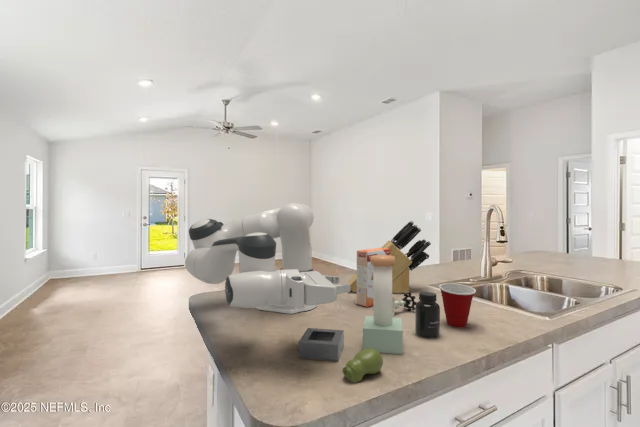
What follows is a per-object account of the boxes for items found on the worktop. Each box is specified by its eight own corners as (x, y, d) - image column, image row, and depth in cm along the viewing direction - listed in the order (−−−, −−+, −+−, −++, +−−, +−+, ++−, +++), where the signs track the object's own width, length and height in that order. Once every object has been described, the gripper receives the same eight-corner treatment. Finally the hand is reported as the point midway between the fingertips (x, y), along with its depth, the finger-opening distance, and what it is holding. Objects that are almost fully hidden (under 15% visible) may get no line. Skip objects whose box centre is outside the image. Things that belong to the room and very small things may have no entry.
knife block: (432, 294, 144) (431, 221, 143) (348, 293, 147) (347, 221, 146) (425, 288, 155) (425, 220, 154) (348, 287, 158) (347, 220, 157)
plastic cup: (457, 333, 100) (457, 292, 100) (431, 321, 110) (431, 285, 110) (484, 327, 104) (484, 288, 104) (457, 317, 114) (457, 281, 114)
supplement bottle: (436, 340, 95) (436, 297, 95) (412, 335, 98) (412, 294, 98) (442, 332, 101) (442, 292, 100) (419, 328, 104) (419, 289, 104)
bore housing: (298, 358, 85) (298, 342, 85) (308, 342, 95) (307, 327, 94) (338, 361, 83) (338, 345, 83) (343, 344, 92) (343, 330, 92)
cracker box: (367, 308, 125) (367, 251, 125) (355, 304, 130) (355, 250, 130) (391, 300, 135) (390, 248, 134) (379, 297, 139) (378, 246, 139)
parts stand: (363, 351, 88) (363, 328, 88) (366, 336, 98) (365, 315, 98) (402, 354, 86) (402, 330, 86) (401, 339, 96) (401, 317, 96)
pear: (386, 349, 76) (351, 369, 71) (389, 371, 77) (355, 392, 71) (369, 341, 81) (336, 358, 75) (372, 362, 81) (339, 381, 76)
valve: (390, 318, 114) (417, 313, 119) (390, 299, 114) (417, 294, 119) (378, 313, 119) (404, 308, 125) (378, 294, 119) (404, 290, 125)
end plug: (370, 326, 90) (369, 258, 89) (371, 318, 96) (371, 254, 95) (395, 327, 88) (394, 258, 88) (395, 319, 95) (394, 255, 94)
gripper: (286, 289, 96) (333, 286, 99) (298, 311, 76) (356, 306, 80) (285, 267, 96) (333, 264, 99) (298, 283, 76) (356, 279, 79)
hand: (343, 283), depth 89 cm, fingers open, 8 cm apart
